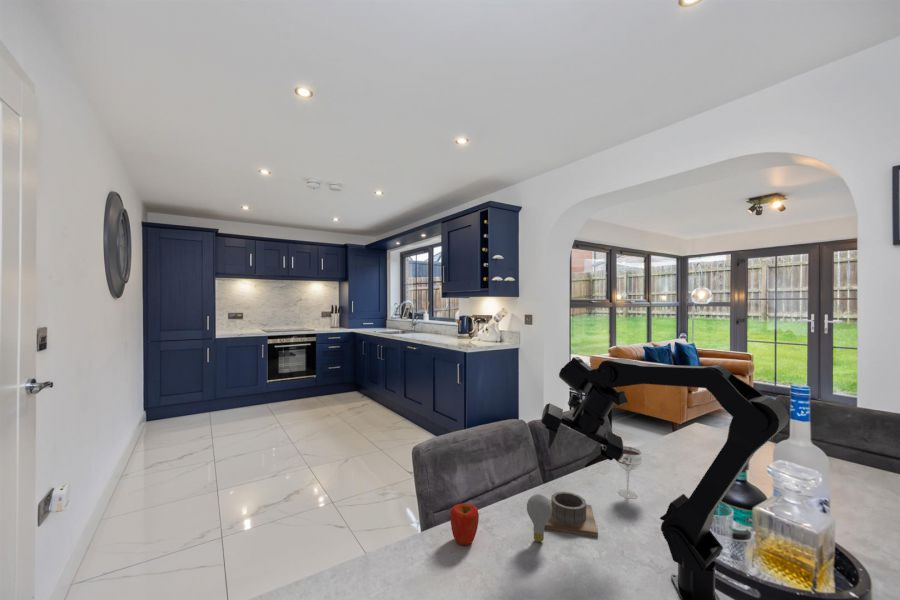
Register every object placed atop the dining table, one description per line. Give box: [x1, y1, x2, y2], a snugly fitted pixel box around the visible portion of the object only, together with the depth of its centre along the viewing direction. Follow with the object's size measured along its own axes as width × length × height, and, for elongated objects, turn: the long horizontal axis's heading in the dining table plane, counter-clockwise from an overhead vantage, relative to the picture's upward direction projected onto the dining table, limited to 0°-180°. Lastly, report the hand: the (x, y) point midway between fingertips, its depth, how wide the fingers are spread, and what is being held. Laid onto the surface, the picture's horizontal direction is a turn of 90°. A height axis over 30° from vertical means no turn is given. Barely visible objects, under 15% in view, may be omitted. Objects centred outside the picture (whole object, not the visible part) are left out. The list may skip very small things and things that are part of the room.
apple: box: [449, 502, 480, 546], centre depth 83 cm, size 6×6×8 cm
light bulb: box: [526, 494, 552, 543], centre depth 84 cm, size 6×6×10 cm
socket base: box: [544, 491, 599, 538], centre depth 93 cm, size 12×12×4 cm
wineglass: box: [615, 445, 643, 499], centre depth 105 cm, size 7×7×12 cm
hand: (566, 456), depth 91 cm, fingers open, 9 cm apart
